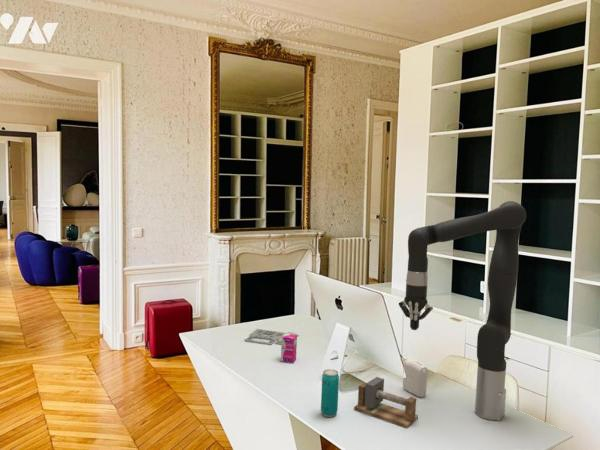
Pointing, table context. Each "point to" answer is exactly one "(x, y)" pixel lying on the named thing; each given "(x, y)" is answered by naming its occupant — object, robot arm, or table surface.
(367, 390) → the collar
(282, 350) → the supplement box
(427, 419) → the table surface
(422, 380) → the photo printer
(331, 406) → the beverage can
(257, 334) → the office telephone
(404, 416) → the rail
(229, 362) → the table surface
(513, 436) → the table surface
